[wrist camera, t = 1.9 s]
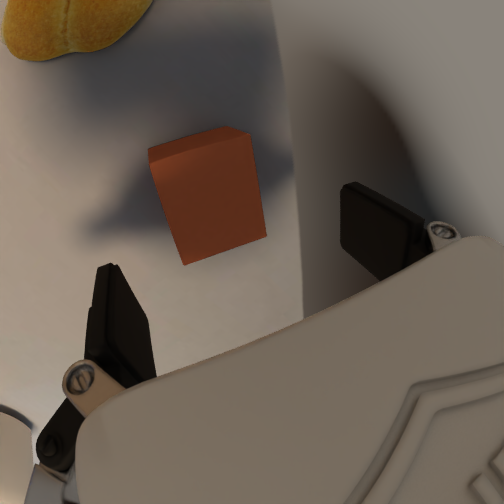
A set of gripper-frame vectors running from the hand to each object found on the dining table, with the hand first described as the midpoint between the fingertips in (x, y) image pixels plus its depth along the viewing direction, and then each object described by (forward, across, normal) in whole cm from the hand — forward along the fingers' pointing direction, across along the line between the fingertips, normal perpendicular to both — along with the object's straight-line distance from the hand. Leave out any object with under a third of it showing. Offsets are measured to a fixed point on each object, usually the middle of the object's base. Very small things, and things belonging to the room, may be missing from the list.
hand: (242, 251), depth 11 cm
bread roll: (+8, +5, -14) cm, 17 cm away
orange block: (+8, 0, 0) cm, 8 cm away
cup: (+9, +36, +19) cm, 42 cm away
